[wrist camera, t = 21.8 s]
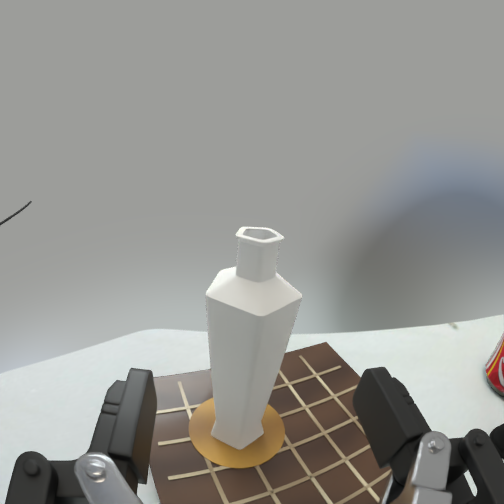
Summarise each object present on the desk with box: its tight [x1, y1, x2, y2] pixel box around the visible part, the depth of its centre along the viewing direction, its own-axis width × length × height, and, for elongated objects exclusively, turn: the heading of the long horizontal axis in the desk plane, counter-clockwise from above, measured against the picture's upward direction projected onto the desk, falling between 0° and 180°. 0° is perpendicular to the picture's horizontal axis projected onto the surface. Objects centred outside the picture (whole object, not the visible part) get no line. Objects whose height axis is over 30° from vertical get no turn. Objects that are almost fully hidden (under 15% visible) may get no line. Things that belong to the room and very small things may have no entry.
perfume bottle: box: [206, 227, 302, 450], centre depth 16 cm, size 5×4×15 cm
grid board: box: [149, 342, 391, 504], centre depth 17 cm, size 20×20×2 cm
